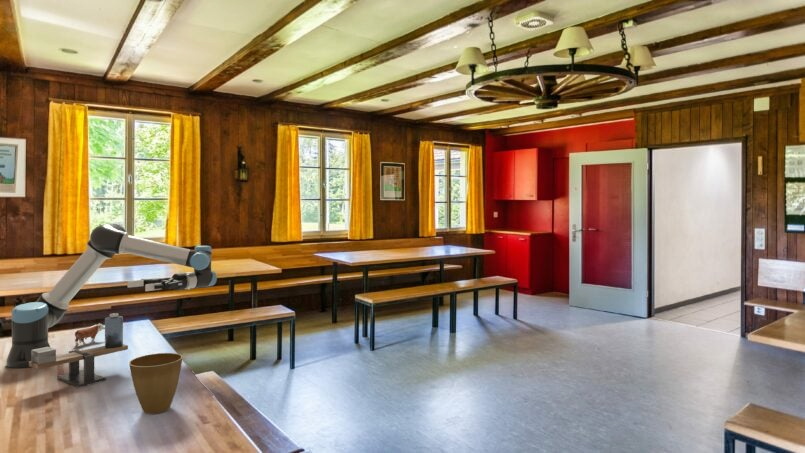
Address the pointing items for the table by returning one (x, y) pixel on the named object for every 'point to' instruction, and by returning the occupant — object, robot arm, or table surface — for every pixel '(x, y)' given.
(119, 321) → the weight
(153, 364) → the plant pot
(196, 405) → the table surface
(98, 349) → the beam
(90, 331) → the bull figurine
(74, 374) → the stand
